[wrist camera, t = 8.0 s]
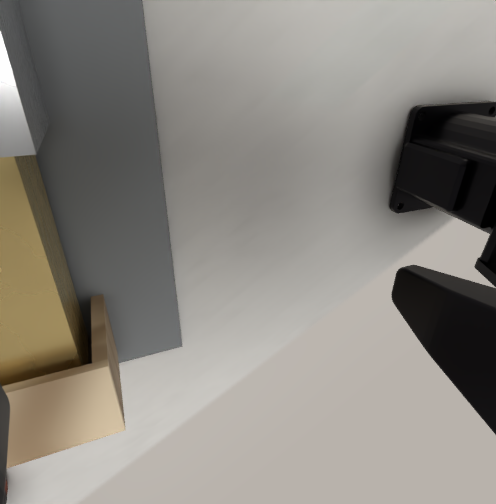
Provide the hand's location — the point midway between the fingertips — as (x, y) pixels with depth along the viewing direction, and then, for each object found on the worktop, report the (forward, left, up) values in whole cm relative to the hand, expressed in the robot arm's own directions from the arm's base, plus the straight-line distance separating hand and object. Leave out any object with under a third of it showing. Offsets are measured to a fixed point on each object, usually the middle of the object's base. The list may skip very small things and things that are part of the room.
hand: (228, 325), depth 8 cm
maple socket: (+6, +8, -11) cm, 15 cm away
